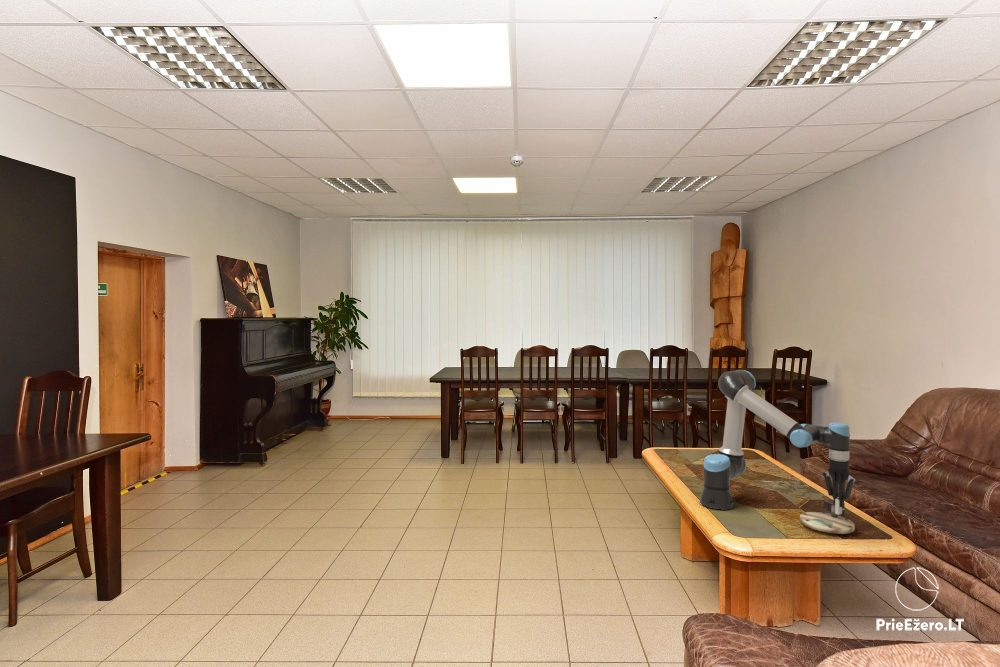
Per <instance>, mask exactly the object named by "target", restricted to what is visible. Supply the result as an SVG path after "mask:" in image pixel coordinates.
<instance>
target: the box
mask: <svg viewBox="0 0 1000 667" xmlns="http://www.w3.org/2000/svg"><path fill="white" fill-rule="evenodd" d="M832 505H834V504H833V499H827V500H825V499H824V500H823V507H822V510H823V512H824V513H829V514H831V506H832ZM845 511H846V509H845V502H844V507H842V514H839V515H838V516H841V517H844V518H846V517H845V516H846V514H845Z"/></svg>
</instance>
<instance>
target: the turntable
mask: <svg viewBox="0 0 1000 667" xmlns="http://www.w3.org/2000/svg"><path fill="white" fill-rule="evenodd" d="M799 522H800V523H801V524H802V526H805V527H806V528H809V529H811V530H815V531H819V532H823V533H827V534H836V535H837V534H839V535H845V534H846V535H847V534H851V533H853V532H855V526H856V525H855V522H853V521H852V520H851V519H848V518H847V517H845V518H844V517H841V516H838V514H835V505H832V506H831V514H829V513H824V512H818V511H805V512H802V513H801V514H800V515H799Z"/></svg>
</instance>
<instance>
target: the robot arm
mask: <svg viewBox="0 0 1000 667" xmlns="http://www.w3.org/2000/svg"><path fill="white" fill-rule="evenodd" d="M717 383H718V384H717V385H718V388H719V390H720V391H721V393H722V395H723V394H724V397H725V398H726V399H727V403H726V412H725V420H724V421H725V422H724V431H723V439H722V440H723V441H722V446H721V447H719V448H718V453H713V454H712V453H711V454H708V455H707V456H705V457H704V459H703V487H702V488H703V489H702V491H701V494H700V495H699V496H700V497H699V504H700V503H701V504H702V505H704V506H706V507H705V508H707V507H709V508H708V509H710V508H713V509H712V510H715V509H721V510H720V511H728V509H729V510H732V509H734V500H733V497H732V494H731V490H730V487H731V484H730V483H731V480H733V479H736V478H739V477H741V476H742V474H744V473H745V471H746V469H747V461H746V459H745V452H744V451H743V450H742V445H743V437H744V429H745V427H744V426H745V419H746V412H747V409H748V410H749V411H750V412H752V413H754V414H755V415H756V416H757V417H759V418H760V419H762V420H763V421H764V422H766V423H767V424H769V425H770V426H772V427H773V428H775V430H777V431H779V432H780V434H783V435H784V436H785V437H787V438H788V439H789V440H790V442H791V444H792V446H795V447H796V448H807V447H809V446H811V445H813V444H817V443H818V444H823V445H828V458H829V459H828V467H829V468H828V469H827V471H825V472H822V473H821V474H822V476H823V478H824V481H825V486H826V491H827V494H828V496H830V497H831V498H832V500H833V504H834V505H835V514H838V515H839V514H842V507H844V503H845V500H849V498H850V496H851V493H852V490H853V486H854V483H855V482H856V481H857V479H856V478H855V477H854V476H851V472H850V461H849V460H850V443H851V442H850V440H851V439H850V438H851V434H850V432H851V431H850V426H849V425H848V424H847V423H843V422H830V423H829V424H828V426H822V425H815V424H811V423H801V424H800V423H798V422H797V421H796V420H795V419H793V418H791V417H790V416H788V415H787V414H785V413H784V412H782V410H780V409H778V408H777V407H776V406H774V405H773V404H771V403H769V402H768V401H767V400H766V399H764V398H762V397H761V396H760V395H758V394H757V393H756V392H753V391H754V390H755V389H756V386H757V383H756V378H755V376H754V375H753V374H752V373H751V372H750V371H747V370H743V369H736V370H730V371H729V370H728V371H725V372H724V373H722V374H721V375H720V377H719V378H718V382H717ZM846 481H848V482H847V484H846ZM701 504H700V505H701ZM702 505H701V506H702ZM704 506H703V507H704Z"/></svg>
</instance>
